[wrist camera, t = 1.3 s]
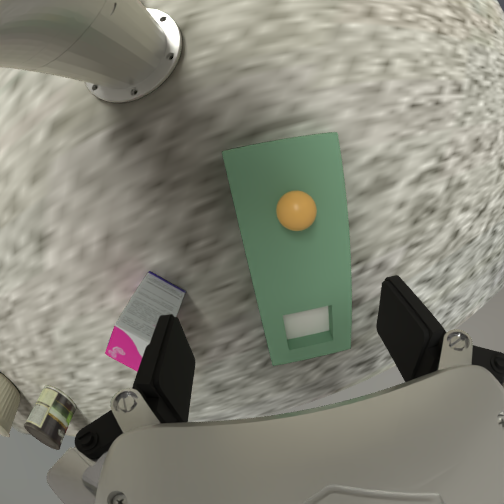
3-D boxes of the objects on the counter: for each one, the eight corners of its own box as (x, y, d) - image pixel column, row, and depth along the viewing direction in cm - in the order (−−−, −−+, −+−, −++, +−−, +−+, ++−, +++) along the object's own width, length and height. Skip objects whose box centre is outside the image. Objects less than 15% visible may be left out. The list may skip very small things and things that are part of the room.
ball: (270, 191, 27) (275, 199, 24) (308, 184, 27) (318, 191, 24) (277, 226, 29) (282, 240, 25) (313, 219, 29) (323, 232, 25)
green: (223, 150, 28) (221, 151, 26) (330, 132, 27) (337, 132, 25) (271, 354, 40) (272, 365, 38) (346, 337, 39) (350, 348, 37)
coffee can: (77, 400, 47) (58, 443, 35) (76, 414, 51) (60, 453, 38) (42, 379, 45) (20, 419, 32) (44, 395, 49) (26, 432, 36)
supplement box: (147, 269, 33) (114, 323, 23) (187, 290, 35) (168, 351, 24) (133, 299, 35) (103, 355, 25) (170, 319, 37) (150, 379, 26)
